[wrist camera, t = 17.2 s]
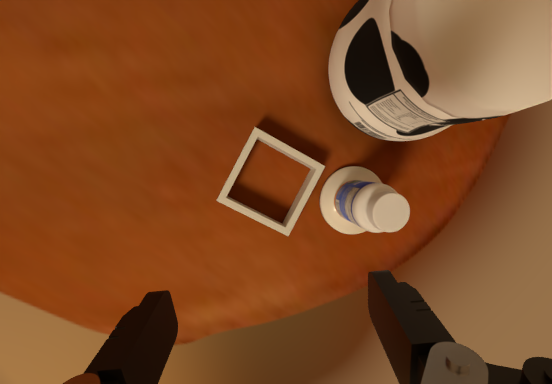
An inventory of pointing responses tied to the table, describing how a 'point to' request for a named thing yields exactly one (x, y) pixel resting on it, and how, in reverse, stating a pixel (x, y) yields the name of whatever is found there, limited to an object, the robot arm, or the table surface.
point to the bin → (301, 196)
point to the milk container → (439, 63)
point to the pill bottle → (371, 206)
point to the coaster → (330, 190)
